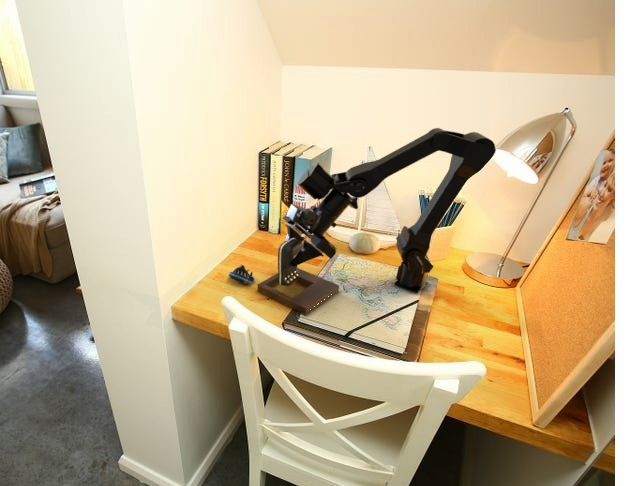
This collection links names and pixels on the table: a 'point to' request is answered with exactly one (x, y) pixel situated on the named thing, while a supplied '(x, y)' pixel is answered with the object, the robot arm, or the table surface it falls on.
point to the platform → (306, 298)
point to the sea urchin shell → (364, 243)
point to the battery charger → (288, 261)
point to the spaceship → (241, 275)
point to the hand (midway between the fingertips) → (286, 260)
